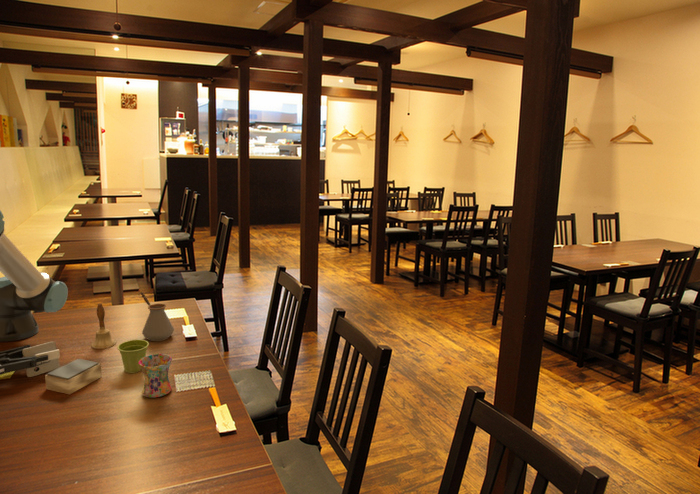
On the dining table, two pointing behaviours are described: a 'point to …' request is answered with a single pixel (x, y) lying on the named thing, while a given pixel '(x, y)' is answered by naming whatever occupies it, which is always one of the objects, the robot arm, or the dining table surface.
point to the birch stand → (73, 376)
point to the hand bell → (102, 332)
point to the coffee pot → (157, 322)
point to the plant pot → (133, 354)
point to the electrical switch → (41, 366)
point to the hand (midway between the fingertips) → (56, 349)
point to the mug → (156, 375)
